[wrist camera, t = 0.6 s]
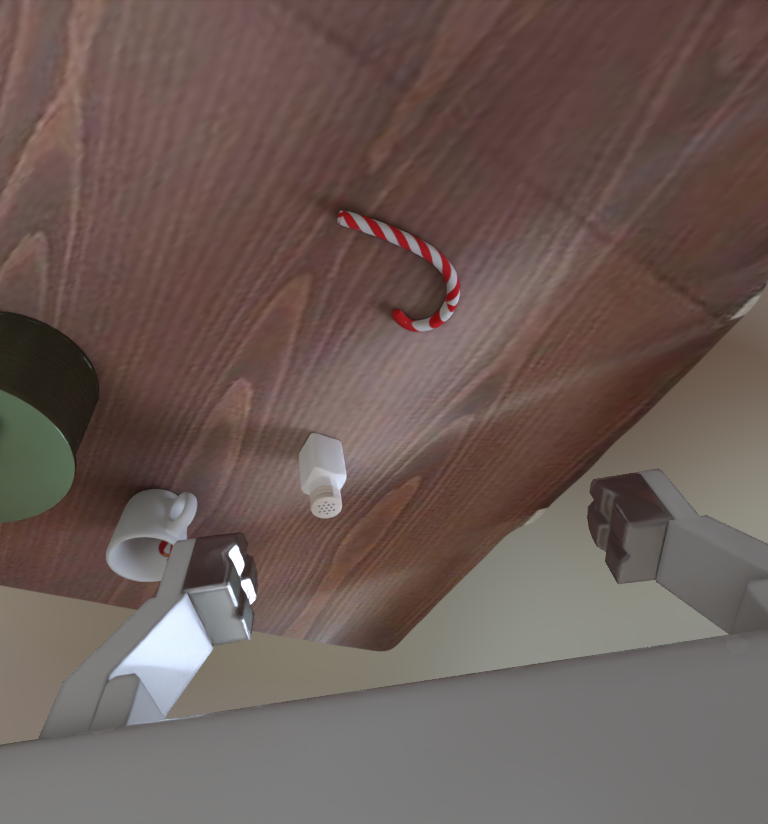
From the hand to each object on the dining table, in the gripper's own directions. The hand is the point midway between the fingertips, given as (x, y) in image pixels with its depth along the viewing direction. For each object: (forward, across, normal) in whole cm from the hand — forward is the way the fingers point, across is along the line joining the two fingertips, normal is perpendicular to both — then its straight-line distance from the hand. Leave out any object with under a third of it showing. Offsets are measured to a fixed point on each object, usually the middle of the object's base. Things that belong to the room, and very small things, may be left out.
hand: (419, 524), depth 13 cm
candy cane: (+41, -3, +8) cm, 42 cm away
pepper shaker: (+42, +8, +27) cm, 51 cm away
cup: (+41, +27, +31) cm, 58 cm away
